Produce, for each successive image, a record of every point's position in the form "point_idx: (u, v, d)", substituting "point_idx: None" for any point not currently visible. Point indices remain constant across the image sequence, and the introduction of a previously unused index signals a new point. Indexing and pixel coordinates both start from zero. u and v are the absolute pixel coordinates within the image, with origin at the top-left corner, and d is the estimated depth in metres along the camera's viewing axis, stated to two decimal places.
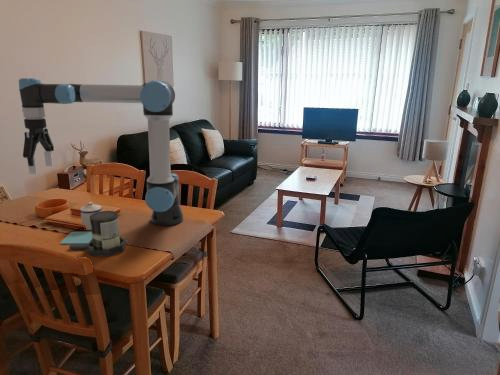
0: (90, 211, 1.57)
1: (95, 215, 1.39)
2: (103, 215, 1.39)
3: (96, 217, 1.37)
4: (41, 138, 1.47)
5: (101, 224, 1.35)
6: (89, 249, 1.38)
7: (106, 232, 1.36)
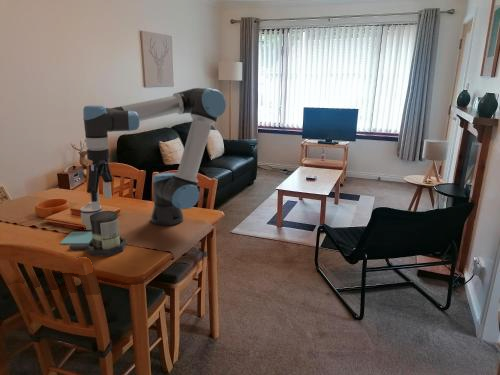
0: (90, 211, 1.57)
1: (95, 215, 1.39)
2: (103, 215, 1.39)
3: (96, 217, 1.37)
4: (103, 170, 1.35)
5: (101, 224, 1.35)
6: (89, 249, 1.38)
7: (106, 232, 1.36)
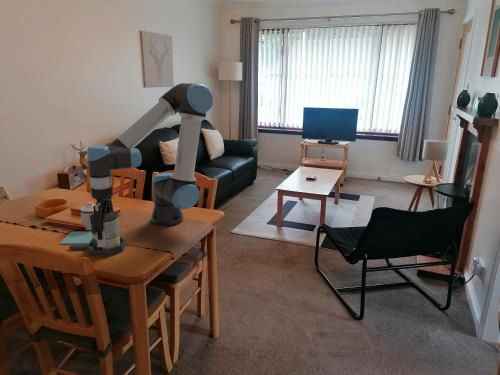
0: (90, 211, 1.57)
1: None
2: None
3: None
4: (106, 206, 1.39)
5: None
6: (89, 249, 1.38)
7: (106, 231, 1.36)
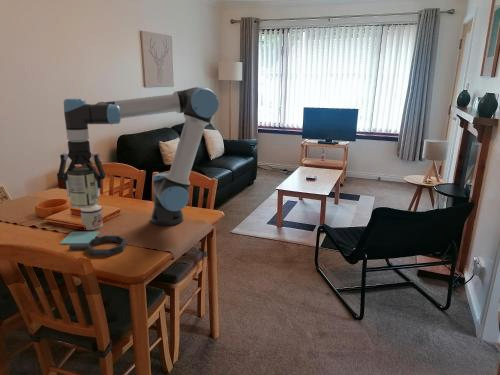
0: (90, 211, 1.57)
1: (84, 168, 1.43)
2: (82, 169, 1.40)
3: (78, 168, 1.42)
4: (82, 162, 1.38)
5: None
6: (89, 249, 1.38)
7: None
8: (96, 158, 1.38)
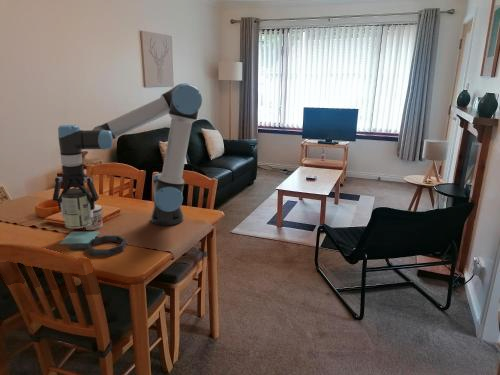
0: None
1: (78, 190, 1.49)
2: (75, 192, 1.46)
3: (72, 190, 1.48)
4: (75, 185, 1.44)
5: None
6: (89, 249, 1.38)
7: None
8: (89, 181, 1.44)
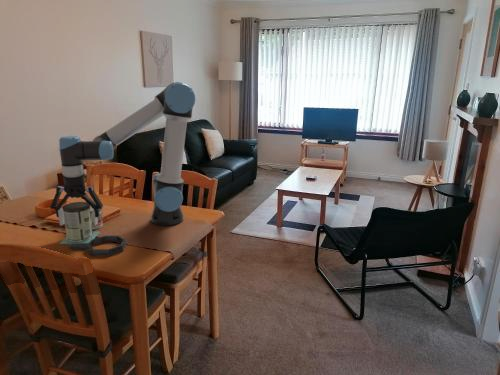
0: (90, 211, 1.57)
1: (79, 203, 1.51)
2: (77, 206, 1.48)
3: (73, 204, 1.50)
4: (77, 195, 1.45)
5: None
6: (89, 249, 1.38)
7: (64, 219, 1.47)
8: (90, 190, 1.45)
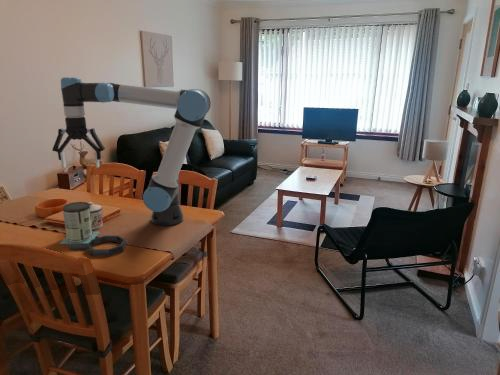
0: (90, 211, 1.57)
1: (79, 203, 1.51)
2: (77, 206, 1.48)
3: (73, 204, 1.50)
4: (79, 137, 1.48)
5: None
6: (89, 249, 1.38)
7: (64, 219, 1.47)
8: (92, 132, 1.48)
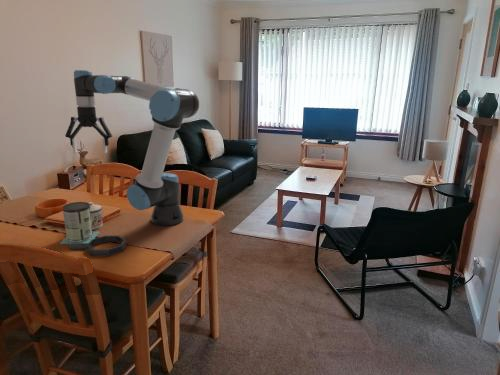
0: (90, 211, 1.57)
1: (79, 203, 1.51)
2: (76, 206, 1.48)
3: (73, 204, 1.50)
4: (89, 124, 1.63)
5: None
6: (89, 249, 1.38)
7: (64, 219, 1.47)
8: (101, 120, 1.63)
